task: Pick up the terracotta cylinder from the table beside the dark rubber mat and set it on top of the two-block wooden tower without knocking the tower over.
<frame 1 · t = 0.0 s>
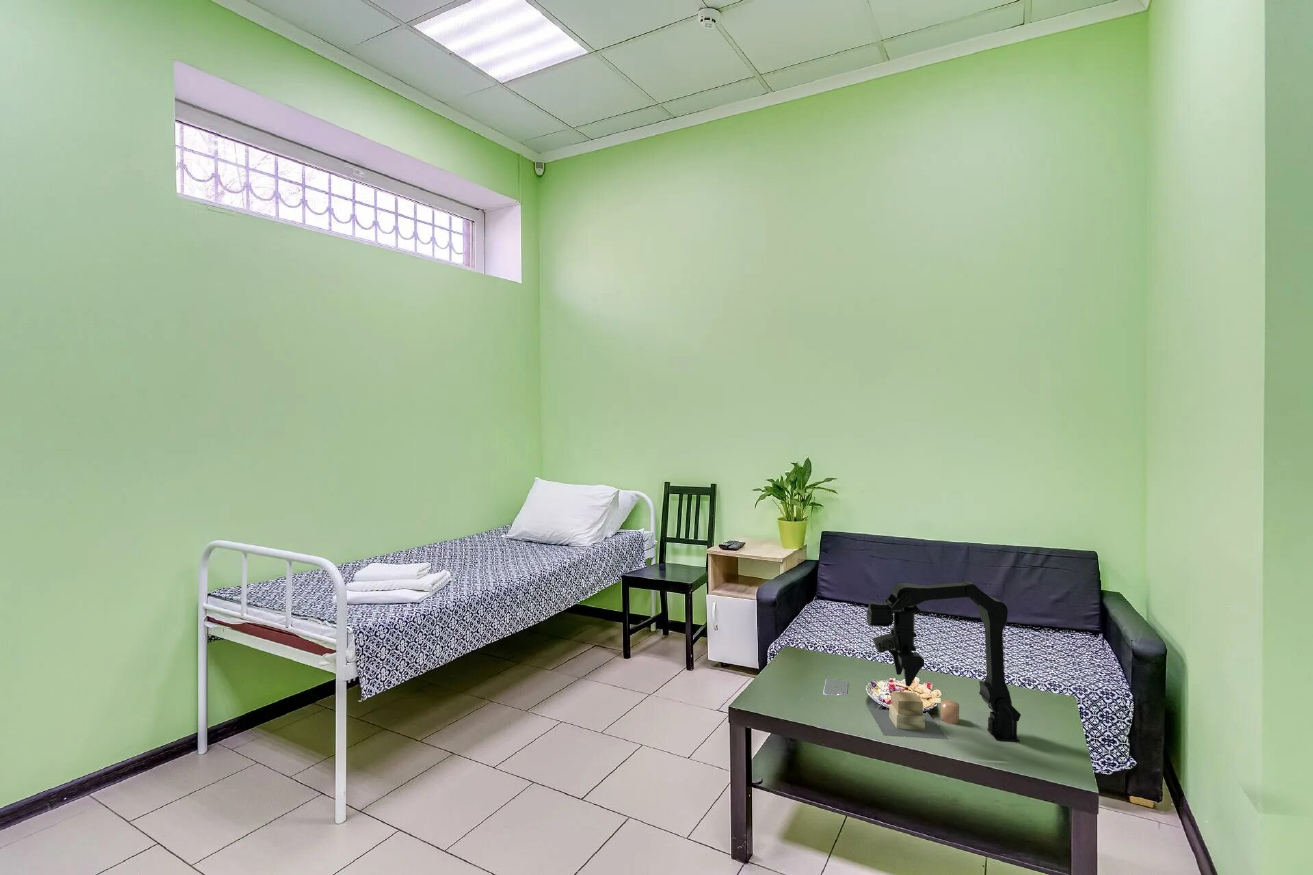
hand: (903, 680, 184), 15 cm above the table, tool pointing down, fingers open, 9 cm apart
base block: (906, 723, 188), resting on rubber mat, touching top block
terracotta cylinder: (949, 721, 191), on the table
rubber mat: (906, 724, 188), on the table
mobile phone: (835, 689, 215), on the table
top block: (906, 709, 188), point 4 cm above the table, touching base block
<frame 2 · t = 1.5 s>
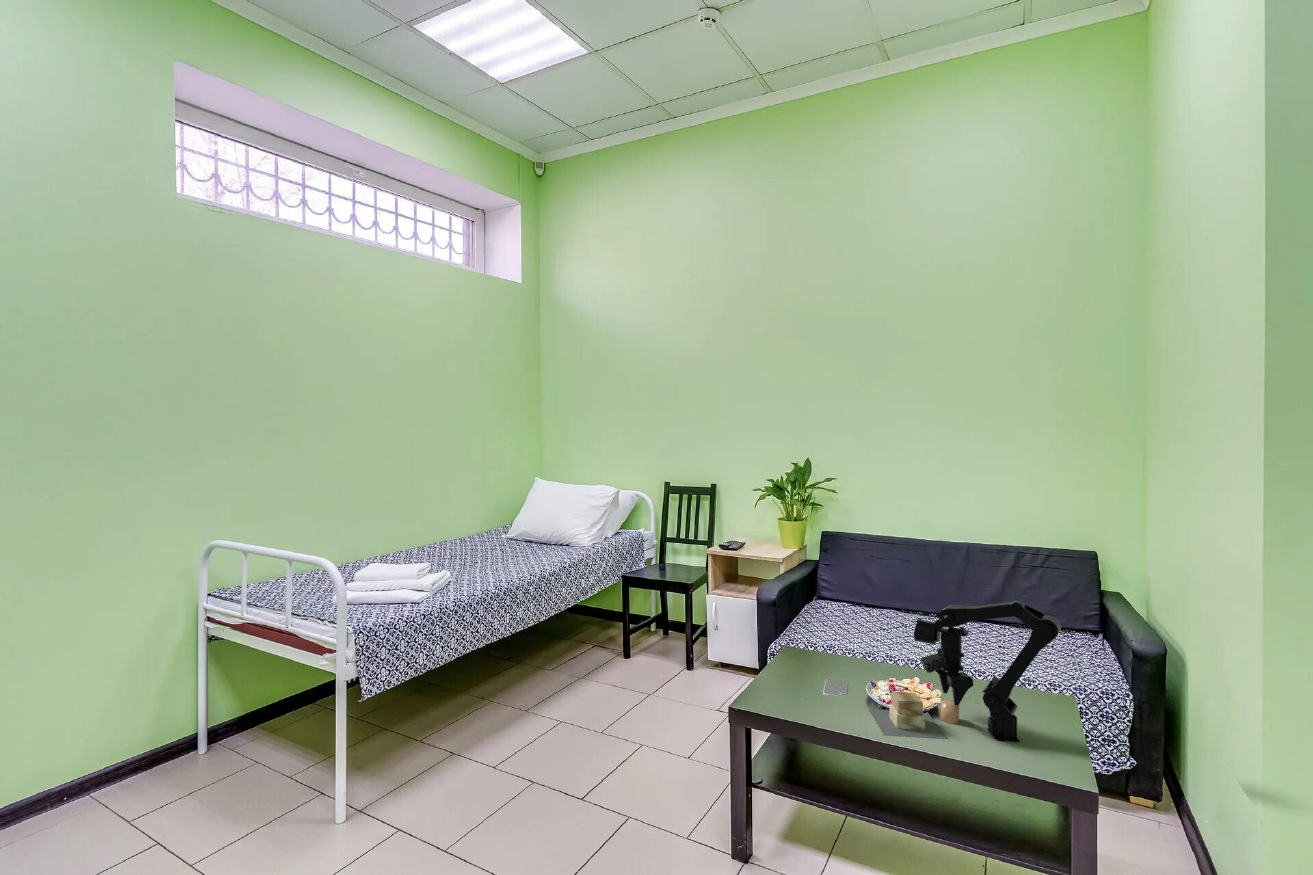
hand: (950, 698, 191), 7 cm above the table, tool pointing down, fingers open, 9 cm apart
nothing on the table moved.
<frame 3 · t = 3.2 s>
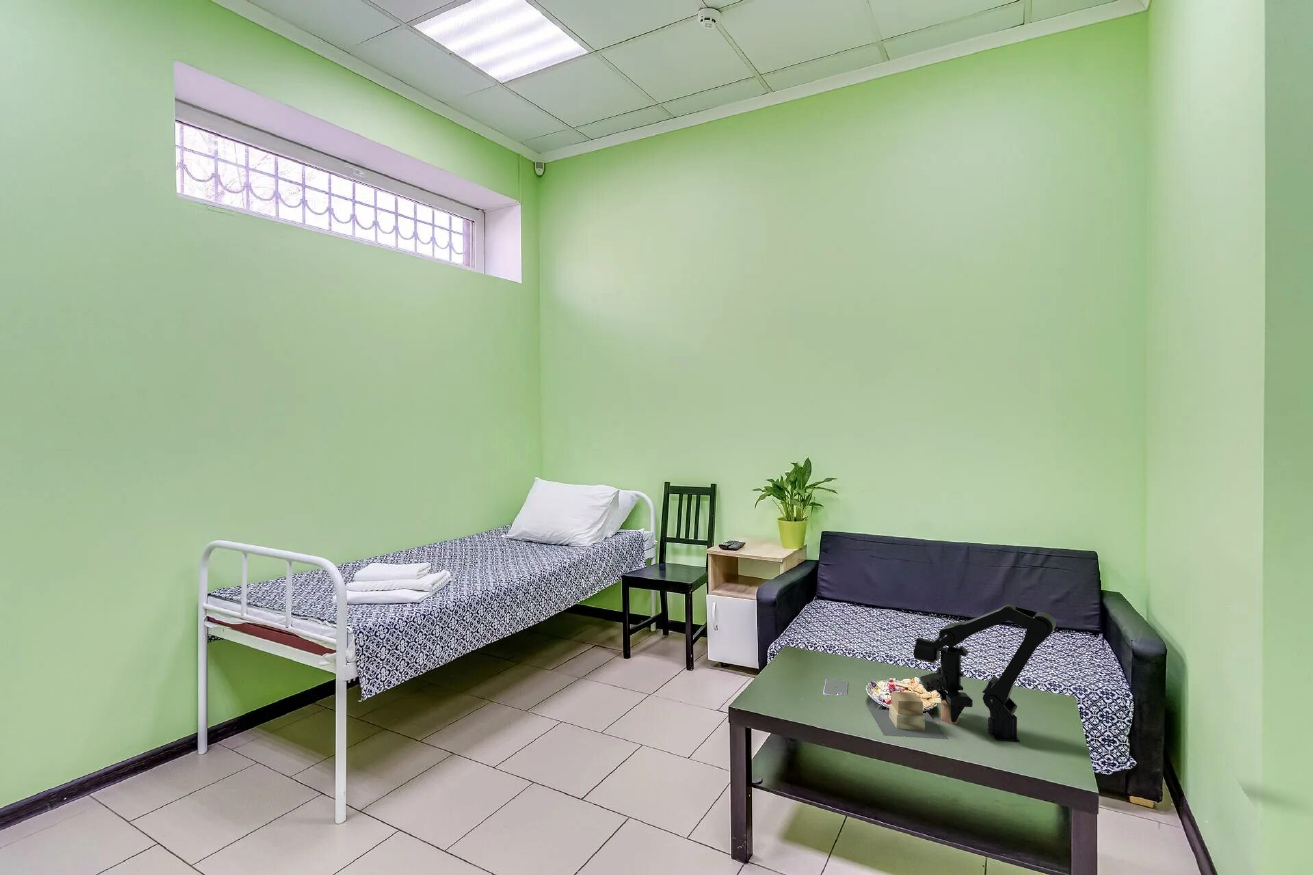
hand: (950, 718, 191), 1 cm above the table, tool pointing down, fingers closed on terracotta cylinder, 5 cm apart
terracotta cylinder: (949, 721, 191), on the table, touching gripper
everything else where it was.
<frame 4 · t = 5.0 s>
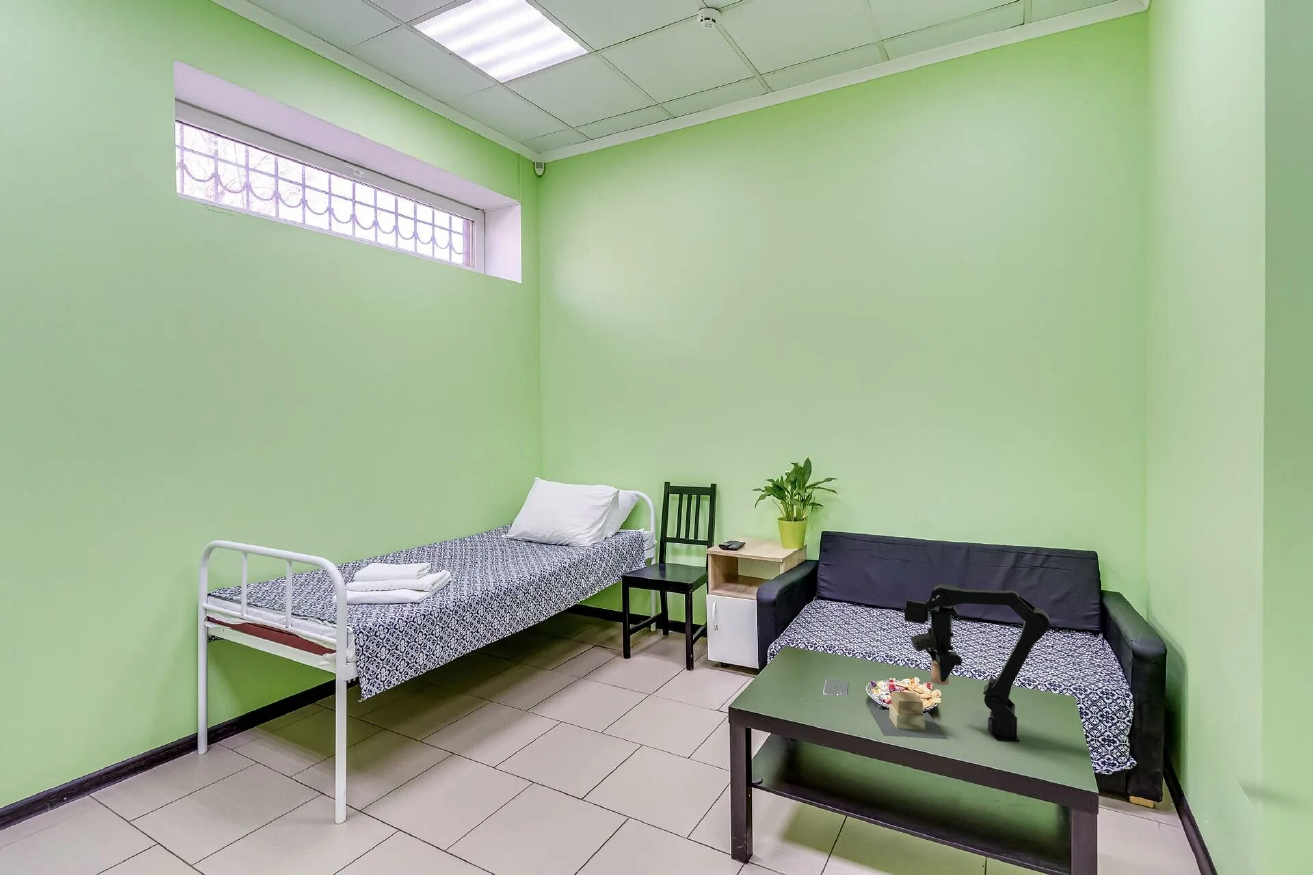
hand: (939, 678, 190), 13 cm above the table, tool pointing down, fingers closed on terracotta cylinder, 5 cm apart
terracotta cylinder: (939, 681, 190), point 12 cm above the table, touching gripper
everything else where it was.
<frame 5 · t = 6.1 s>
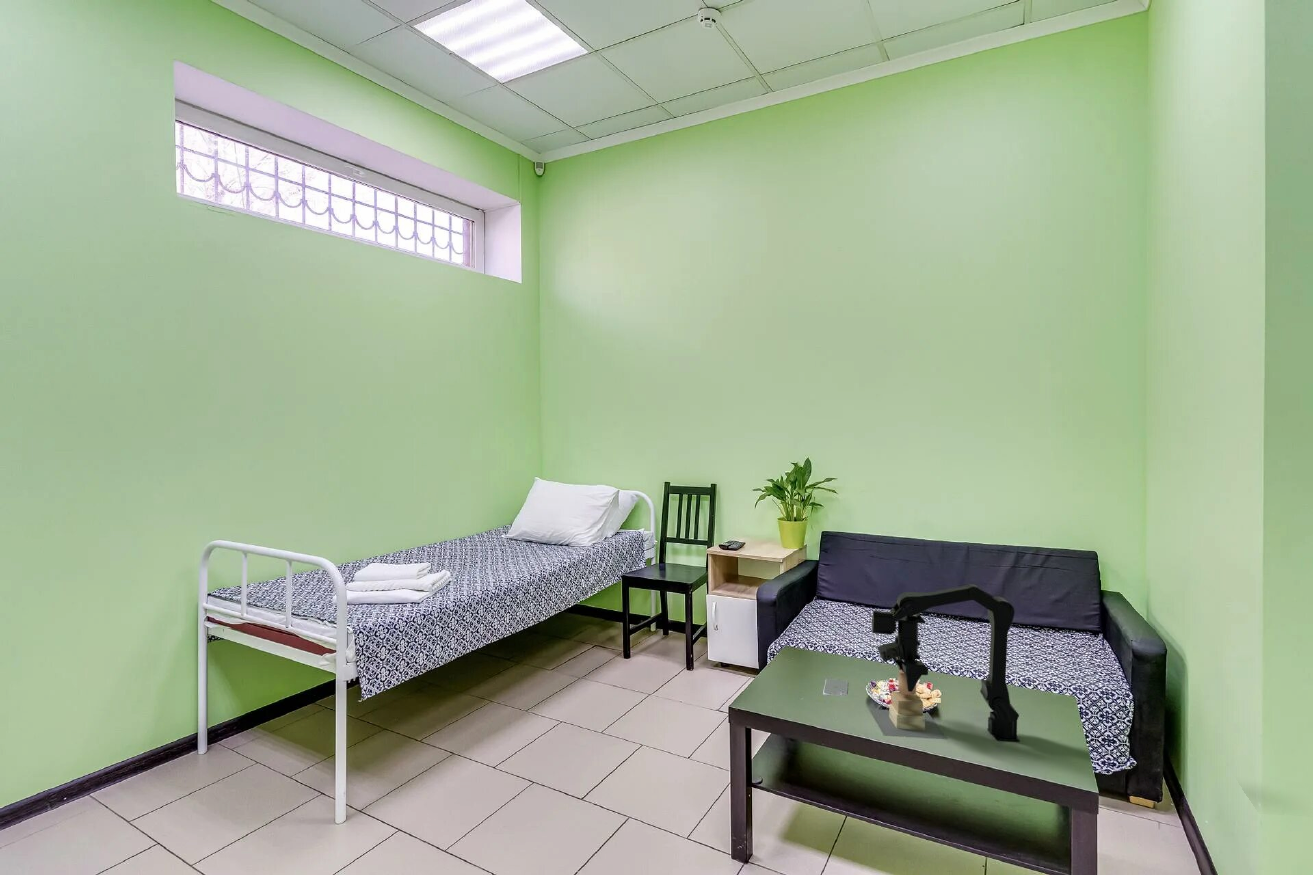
hand: (907, 687, 188), 11 cm above the table, tool pointing down, fingers closed on terracotta cylinder, 5 cm apart
terracotta cylinder: (907, 691, 188), point 10 cm above the table, touching gripper
everything else where it was.
when the fingers open (11 cm above the table, at t = 6.9 s): terracotta cylinder drops 1 cm, resting on top block.
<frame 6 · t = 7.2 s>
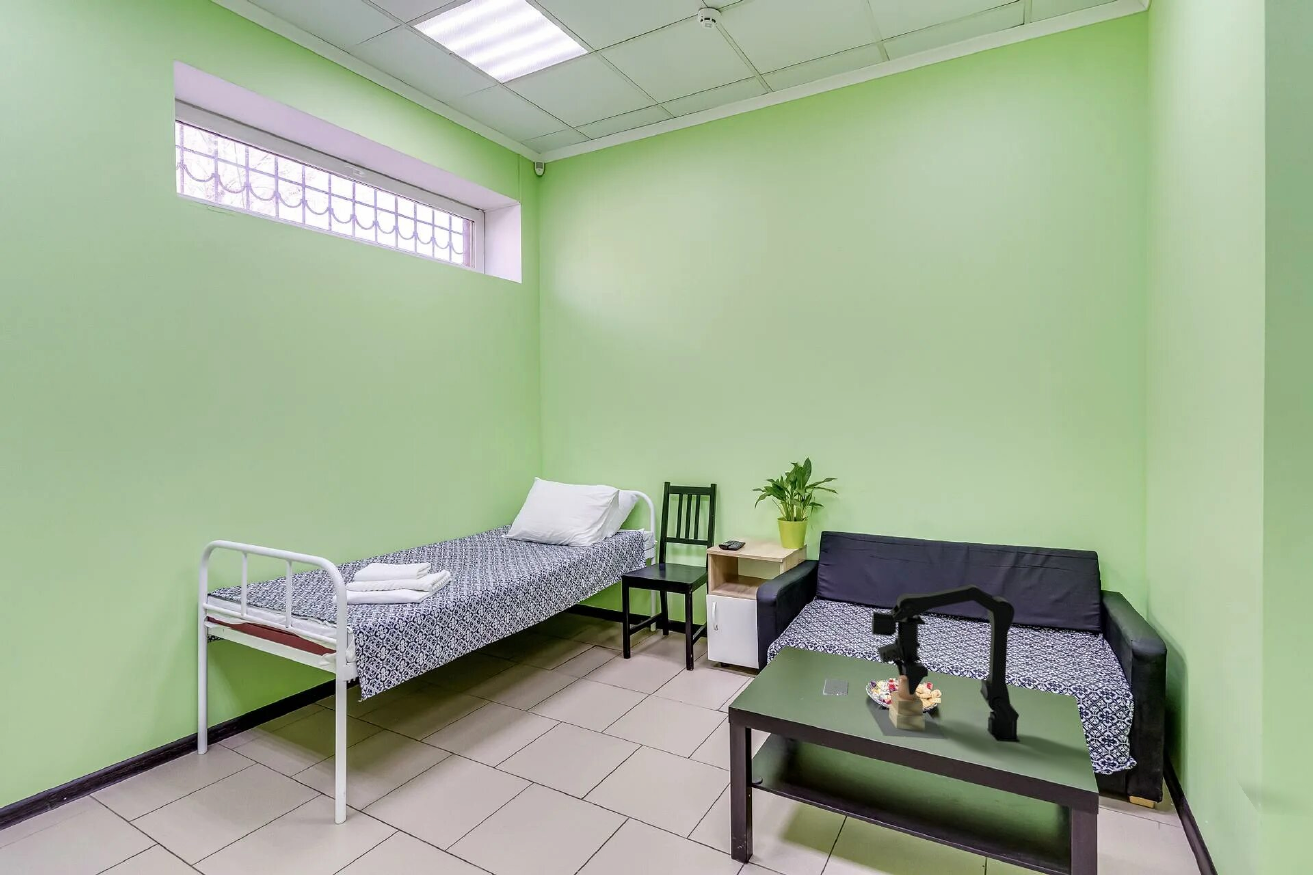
hand: (907, 689, 188), 11 cm above the table, tool pointing down, fingers open, 8 cm apart
terracotta cylinder: (907, 696, 188), point 8 cm above the table, touching top block
top block: (906, 709, 188), point 4 cm above the table, touching base block, terracotta cylinder
everything else where it was.
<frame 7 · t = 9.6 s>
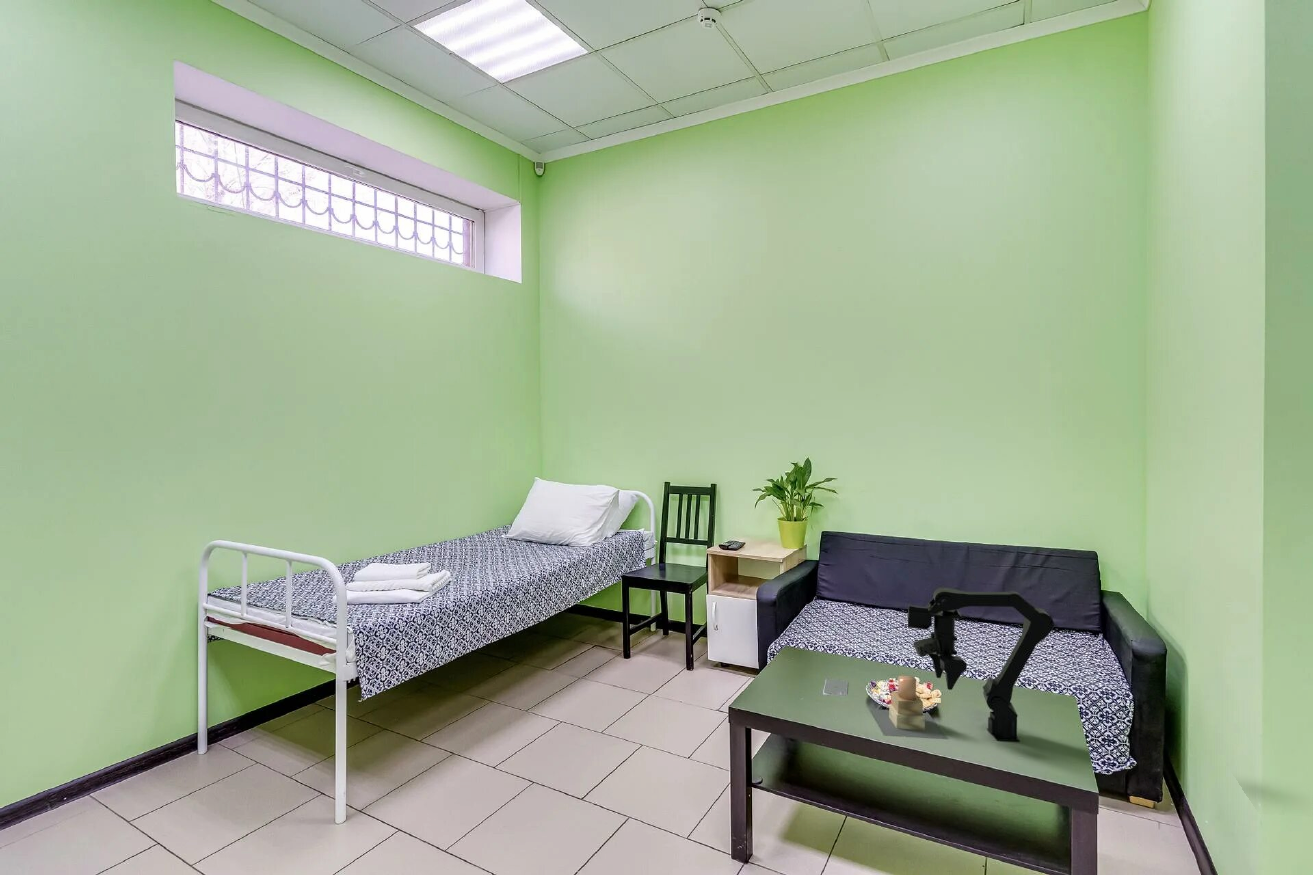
hand: (943, 683, 187), 13 cm above the table, tool pointing down, fingers open, 9 cm apart
nothing on the table moved.
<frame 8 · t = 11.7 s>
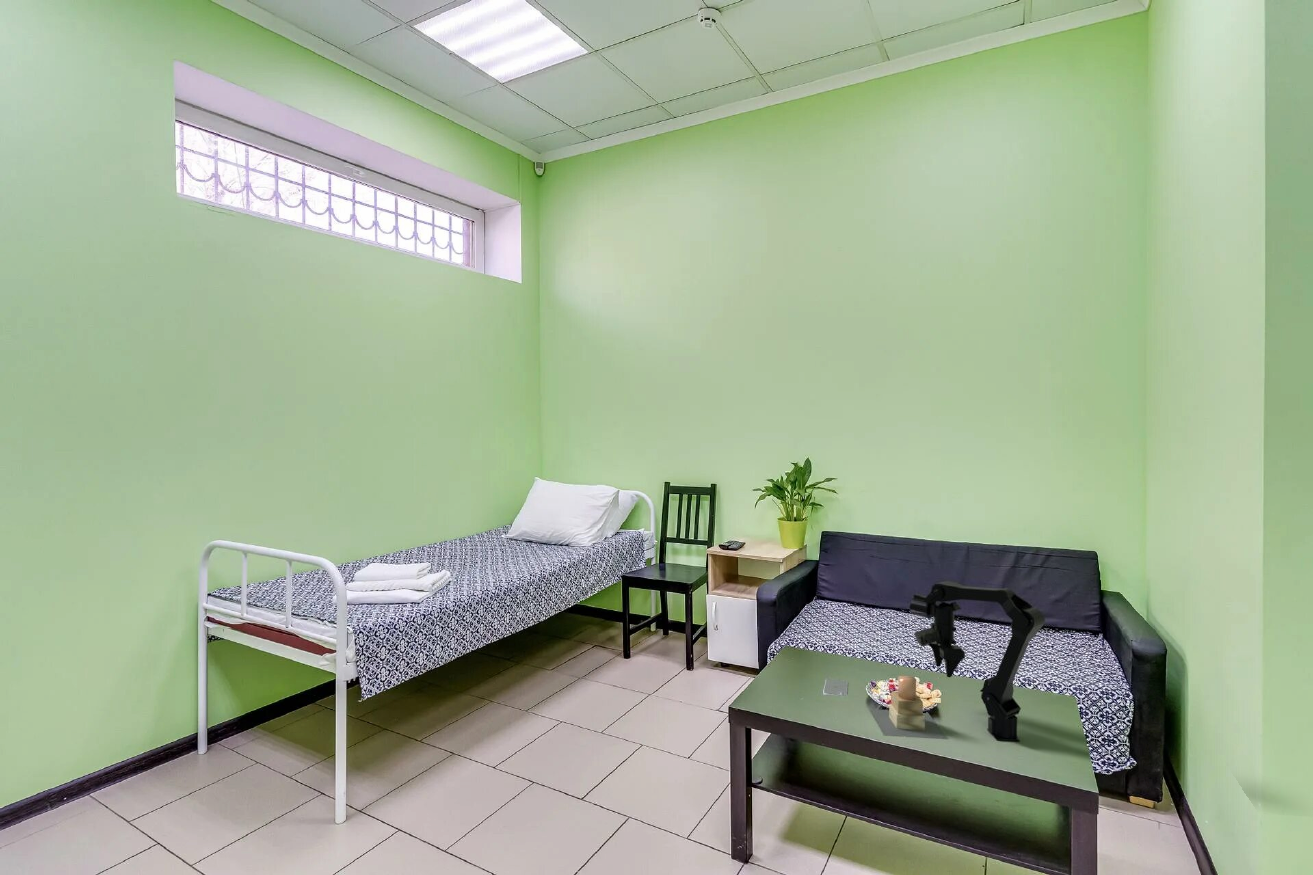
hand: (943, 671, 197), 13 cm above the table, tool pointing down, fingers open, 9 cm apart
nothing on the table moved.
at the end: terracotta cylinder 0.0 cm off-centre on the top block, point 4.0 cm above the top block's base; top block 0.0 cm from the target spot, point 4.4 cm above the table; terracotta cylinder tilted 0° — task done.
